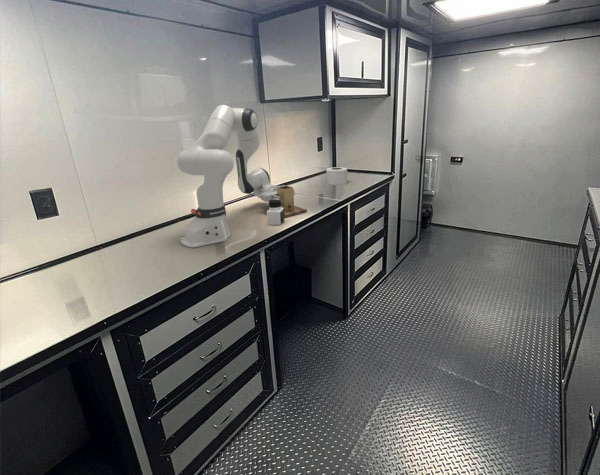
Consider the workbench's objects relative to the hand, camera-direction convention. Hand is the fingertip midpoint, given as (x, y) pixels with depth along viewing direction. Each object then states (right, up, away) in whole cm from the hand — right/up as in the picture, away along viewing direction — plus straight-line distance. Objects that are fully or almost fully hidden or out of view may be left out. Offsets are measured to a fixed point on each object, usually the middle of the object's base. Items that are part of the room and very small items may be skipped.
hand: (286, 196), depth 186 cm
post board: (0, -8, +4) cm, 9 cm away
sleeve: (0, -6, +3) cm, 7 cm away
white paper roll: (+35, +19, +72) cm, 82 cm away
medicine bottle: (-5, -15, -13) cm, 20 cm away
